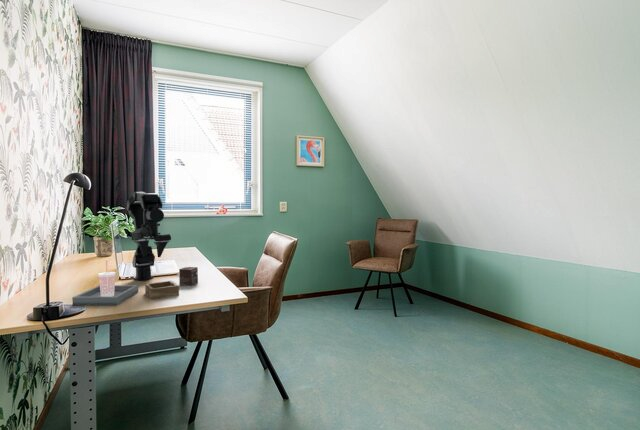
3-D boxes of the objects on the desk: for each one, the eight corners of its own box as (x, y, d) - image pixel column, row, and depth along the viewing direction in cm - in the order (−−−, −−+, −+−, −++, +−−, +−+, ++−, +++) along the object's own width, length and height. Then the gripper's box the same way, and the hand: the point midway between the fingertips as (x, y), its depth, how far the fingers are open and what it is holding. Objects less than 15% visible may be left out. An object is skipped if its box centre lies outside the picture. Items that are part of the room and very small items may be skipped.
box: (191, 286, 171) (191, 269, 171) (179, 285, 173) (178, 269, 172) (198, 282, 177) (198, 267, 177) (186, 282, 179) (186, 266, 178)
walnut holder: (145, 293, 159) (145, 284, 158) (171, 289, 165) (171, 280, 164) (151, 299, 150) (151, 289, 150) (178, 295, 156) (178, 285, 156)
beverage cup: (116, 293, 155) (115, 258, 154) (116, 296, 150) (115, 261, 149) (98, 294, 152) (97, 259, 151) (98, 298, 147) (97, 262, 146)
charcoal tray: (99, 292, 160) (99, 285, 160) (138, 292, 160) (138, 285, 160) (72, 305, 142) (72, 297, 142) (116, 305, 142) (116, 297, 142)
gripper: (120, 222, 167) (121, 258, 168) (150, 222, 159) (151, 260, 159) (142, 221, 177) (143, 254, 178) (171, 221, 169) (172, 256, 169)
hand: (151, 256), depth 171 cm, fingers open, 9 cm apart
